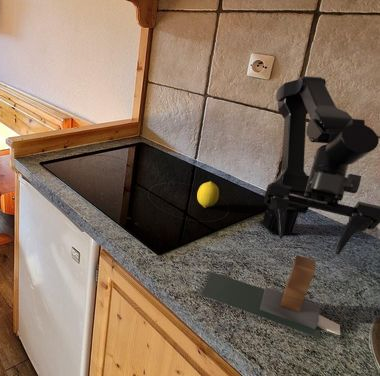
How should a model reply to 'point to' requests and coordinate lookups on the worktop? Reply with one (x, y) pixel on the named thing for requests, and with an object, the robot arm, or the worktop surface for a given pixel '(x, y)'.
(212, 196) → the lemon
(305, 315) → the duster
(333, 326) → the pale pink flat block
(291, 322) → the board
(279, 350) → the worktop surface
